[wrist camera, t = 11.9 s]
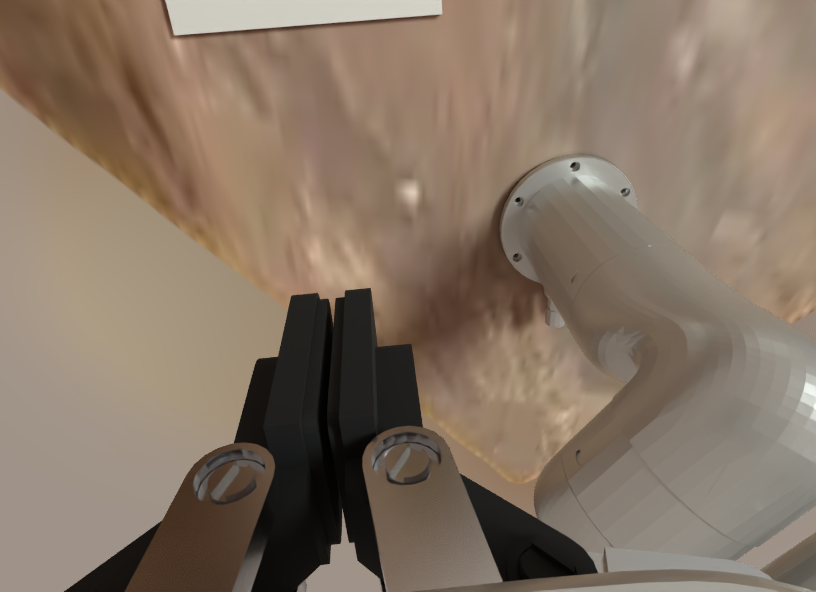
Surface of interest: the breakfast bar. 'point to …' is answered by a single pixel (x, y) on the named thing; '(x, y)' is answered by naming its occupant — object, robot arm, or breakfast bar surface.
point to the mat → (286, 13)
